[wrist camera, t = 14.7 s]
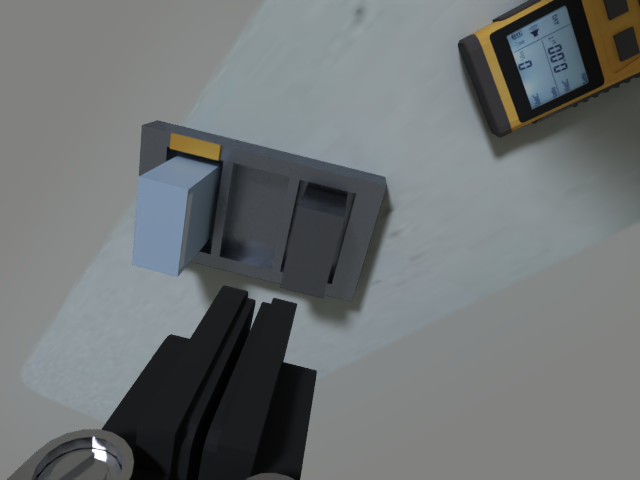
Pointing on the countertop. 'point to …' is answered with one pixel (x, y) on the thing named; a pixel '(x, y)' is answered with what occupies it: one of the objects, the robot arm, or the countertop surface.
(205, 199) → the light blue block
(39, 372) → the countertop surface
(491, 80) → the electronic device
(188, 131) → the rack
